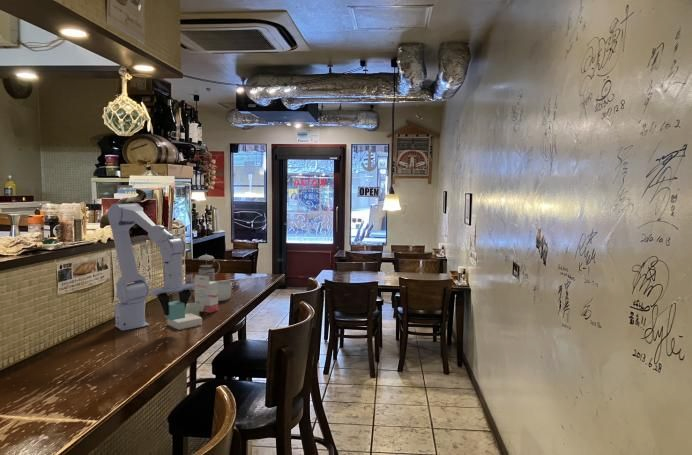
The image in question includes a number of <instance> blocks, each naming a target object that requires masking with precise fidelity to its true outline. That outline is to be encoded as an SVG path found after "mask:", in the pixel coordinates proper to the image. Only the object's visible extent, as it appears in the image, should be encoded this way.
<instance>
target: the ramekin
mask: <svg viewBox="0 0 692 455" xmlns="http://www.w3.org/2000/svg"><path fill="white" fill-rule="evenodd" d="M211 282H218V302H222V301H227V300H229V299H230V298H231V296H232V295H231V294H232V287H233V283H232V281H227V280H215V281H211Z"/></svg>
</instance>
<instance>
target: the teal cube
mask: <svg viewBox="0 0 692 455" xmlns="http://www.w3.org/2000/svg"><path fill="white" fill-rule="evenodd" d="M164 318H165V319H167V320H168V319H169V320H176V319H181V318H185V303H183V302H180V300H174V301H169V315H167V316H166V315H164Z"/></svg>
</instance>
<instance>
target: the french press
mask: <svg viewBox="0 0 692 455" xmlns="http://www.w3.org/2000/svg"><path fill="white" fill-rule="evenodd" d="M203 239H205V240H207V239H208V236H207V235H204V237H203ZM197 259H198V260H199V261H205V264H201V265H199V266H198V267H199V268H198V275H202V276H209V281H216V275H217V274H218V273H219V272H220V271H221V265H220V262H219V261H217V260H216V259H215V257H214V256H213V255H209V254H203V255H201V256H199V257H198V258H197ZM211 260H213V261H212V262H213V263H215V262H217V264H218V269H217V272H215V268H214V264H207V262H208V261H211ZM200 280H205V279H203V278H200Z"/></svg>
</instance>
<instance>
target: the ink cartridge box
mask: <svg viewBox="0 0 692 455" xmlns="http://www.w3.org/2000/svg"><path fill="white" fill-rule="evenodd" d="M202 275H203V274H202ZM202 275H199V274H195V275H194V283H193V284H195V290H194V303H196V304H199V312H200V313H207V314H208V313H209V314H211V313H215V312H218V311H219V301H218V282H211V281H209V278H210V277H209V276H210V275H207V276H202ZM200 278H203V280H200ZM204 279H205V280H204Z"/></svg>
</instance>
